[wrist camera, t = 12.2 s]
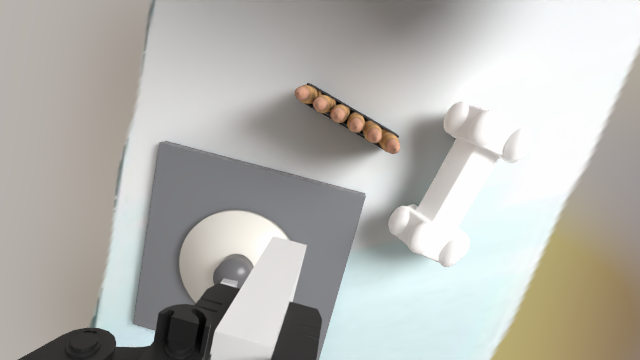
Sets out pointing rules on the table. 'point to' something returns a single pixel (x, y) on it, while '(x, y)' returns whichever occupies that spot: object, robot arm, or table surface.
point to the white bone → (459, 181)
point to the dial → (224, 249)
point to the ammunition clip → (348, 117)
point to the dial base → (253, 195)
